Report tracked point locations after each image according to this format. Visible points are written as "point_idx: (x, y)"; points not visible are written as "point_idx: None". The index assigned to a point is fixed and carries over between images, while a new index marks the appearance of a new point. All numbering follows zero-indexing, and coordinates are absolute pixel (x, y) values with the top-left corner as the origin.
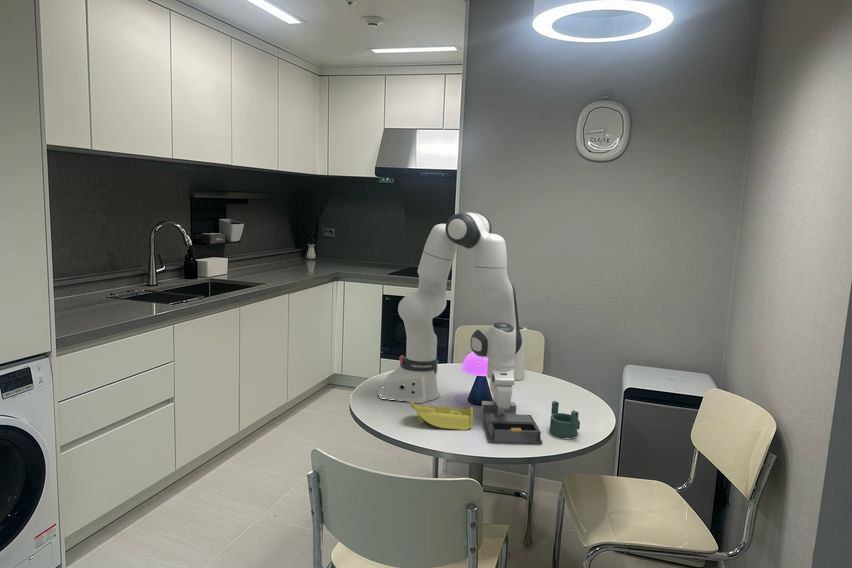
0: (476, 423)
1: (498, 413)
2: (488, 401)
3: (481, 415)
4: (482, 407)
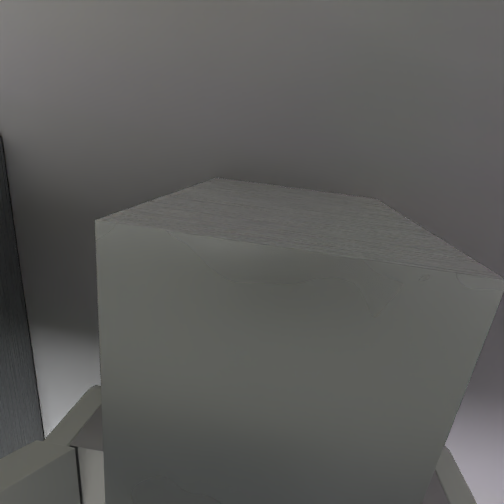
0: (32, 48)
1: (70, 423)
2: (413, 471)
3: (326, 192)
4: (215, 208)
